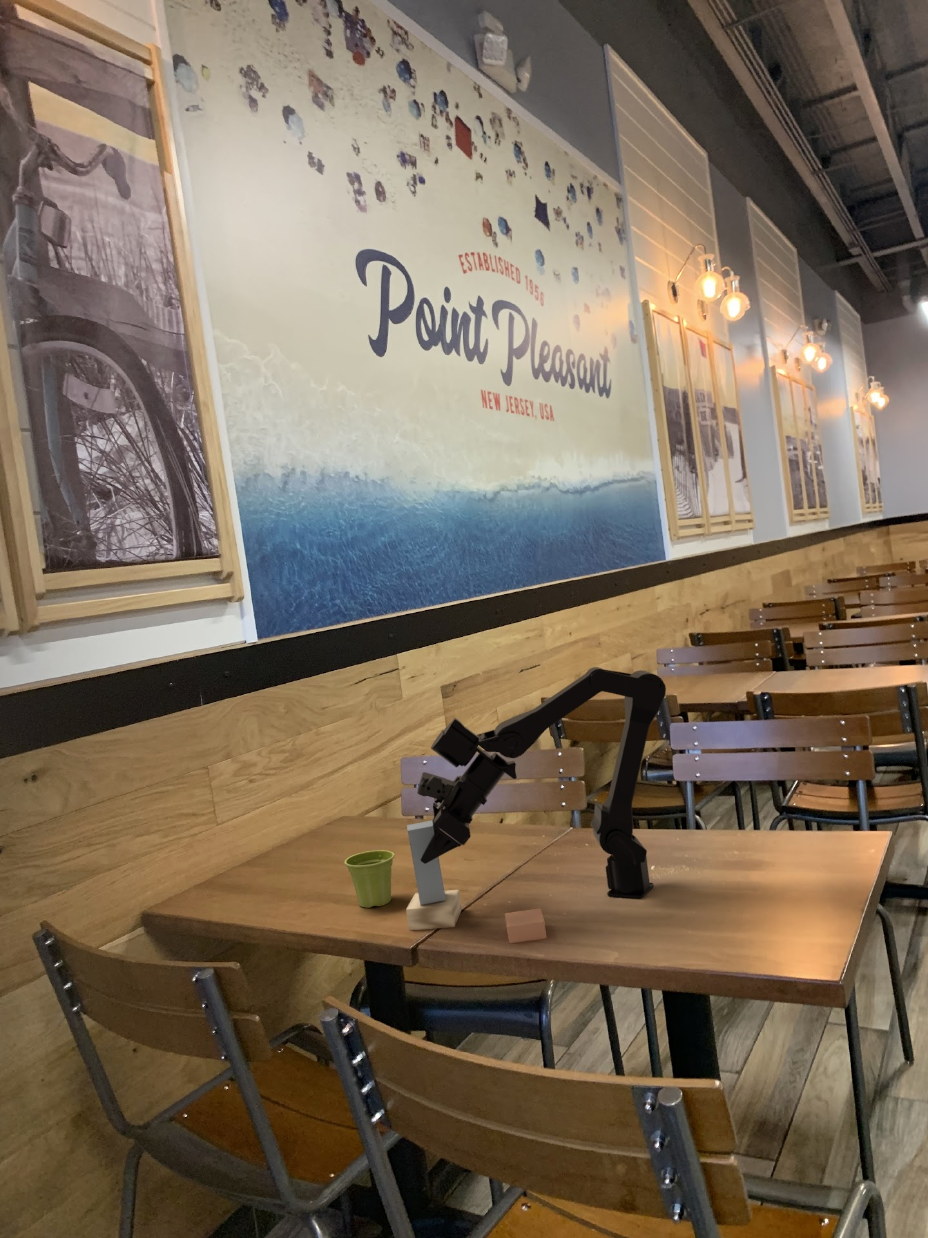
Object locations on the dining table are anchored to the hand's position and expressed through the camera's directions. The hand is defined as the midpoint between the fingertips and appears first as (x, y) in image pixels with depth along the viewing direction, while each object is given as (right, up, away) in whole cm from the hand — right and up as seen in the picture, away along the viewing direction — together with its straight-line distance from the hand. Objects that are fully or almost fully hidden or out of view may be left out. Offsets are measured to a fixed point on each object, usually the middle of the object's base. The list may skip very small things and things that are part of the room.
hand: (422, 854), depth 162 cm
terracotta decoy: (+17, -10, -11) cm, 23 cm away
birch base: (+2, -12, 0) cm, 12 cm away
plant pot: (-9, -13, +14) cm, 21 cm away
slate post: (+2, -8, 0) cm, 8 cm away
